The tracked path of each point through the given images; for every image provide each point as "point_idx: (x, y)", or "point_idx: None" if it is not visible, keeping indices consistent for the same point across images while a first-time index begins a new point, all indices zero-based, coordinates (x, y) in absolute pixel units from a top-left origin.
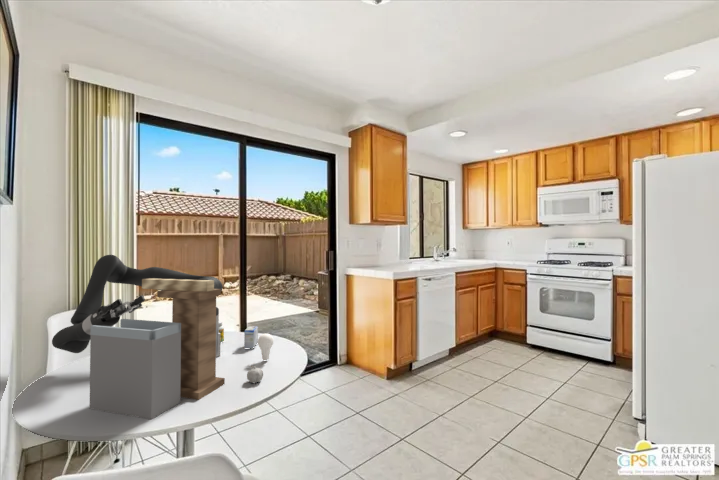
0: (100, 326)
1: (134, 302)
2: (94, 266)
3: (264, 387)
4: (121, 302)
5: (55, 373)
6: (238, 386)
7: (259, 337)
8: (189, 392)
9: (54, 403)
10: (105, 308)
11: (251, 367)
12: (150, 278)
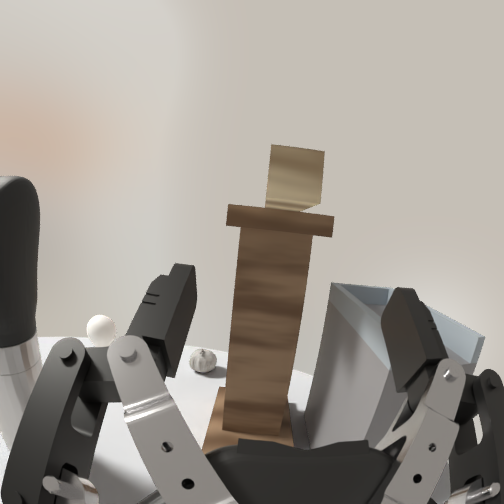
0: (463, 326)
1: (158, 367)
2: None
3: (222, 360)
4: (388, 308)
5: None
6: (224, 380)
7: (102, 326)
8: (288, 405)
9: None
10: (467, 385)
11: (200, 353)
12: (277, 147)
